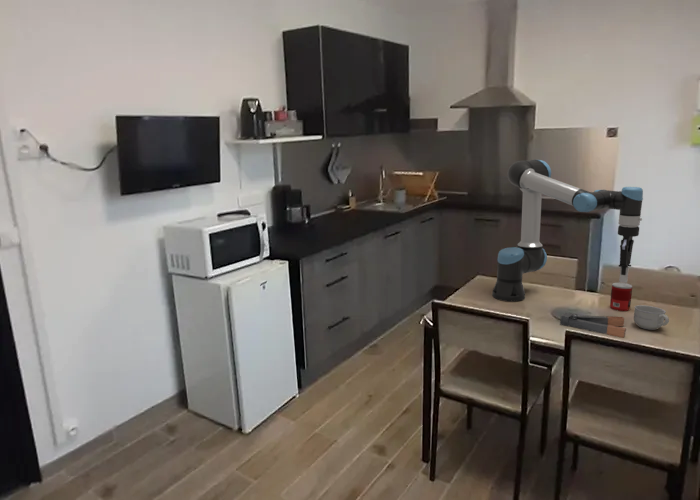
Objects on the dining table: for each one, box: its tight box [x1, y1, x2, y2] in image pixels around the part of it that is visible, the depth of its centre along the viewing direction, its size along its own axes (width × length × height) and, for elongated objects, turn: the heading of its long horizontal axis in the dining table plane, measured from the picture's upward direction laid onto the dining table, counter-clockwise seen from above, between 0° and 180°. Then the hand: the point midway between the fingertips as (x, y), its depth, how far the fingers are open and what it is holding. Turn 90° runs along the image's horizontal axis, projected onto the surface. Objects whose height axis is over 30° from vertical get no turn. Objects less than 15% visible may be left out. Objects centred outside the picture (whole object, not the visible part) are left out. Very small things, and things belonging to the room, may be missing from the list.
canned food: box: [609, 282, 633, 312], centre depth 225 cm, size 8×8×11 cm
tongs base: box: [559, 311, 627, 338], centre depth 202 cm, size 24×6×4 cm, turn 50°
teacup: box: [633, 304, 670, 331], centre depth 201 cm, size 14×11×8 cm
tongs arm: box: [571, 313, 625, 327], centre depth 206 cm, size 20×4×4 cm, turn 80°
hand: (623, 281), depth 209 cm, fingers closed
